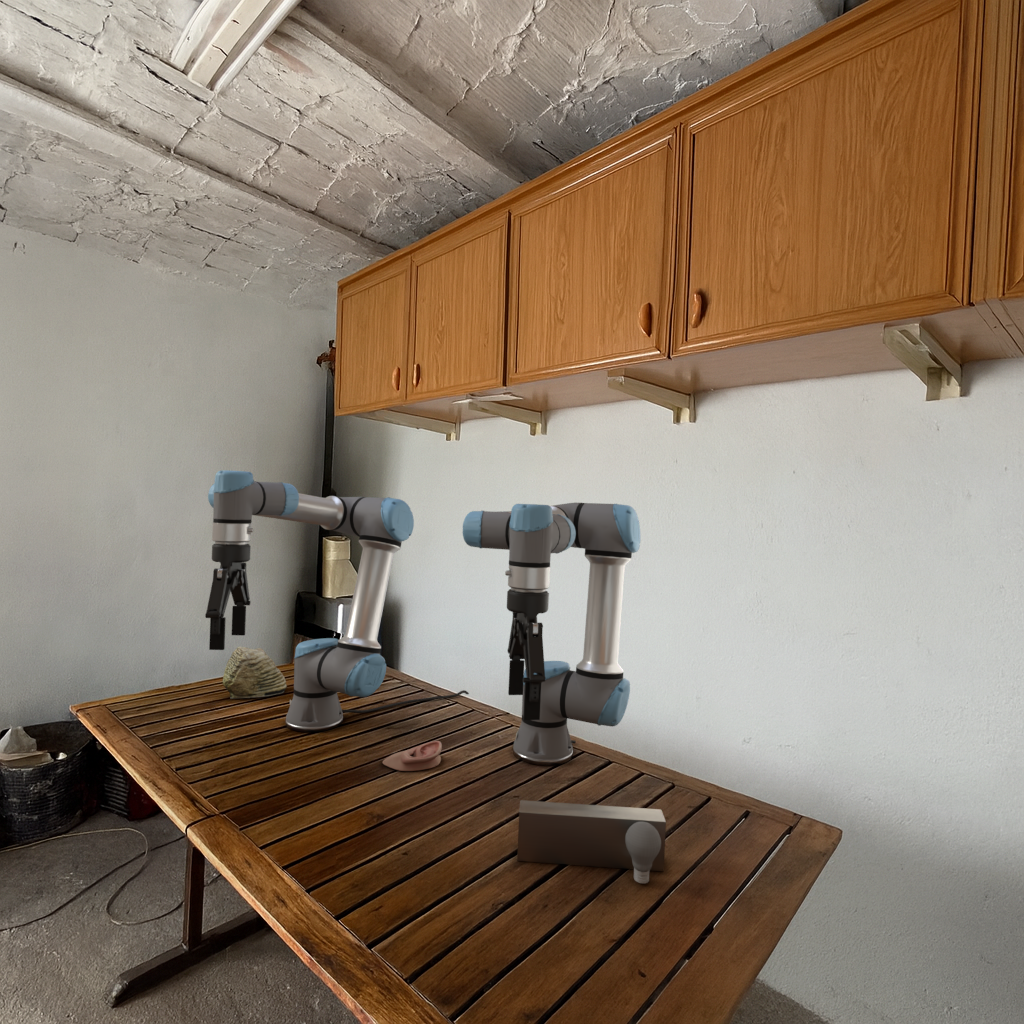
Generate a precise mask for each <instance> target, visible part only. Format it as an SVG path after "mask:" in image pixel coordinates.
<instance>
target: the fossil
mask: <svg viewBox="0 0 1024 1024" xmlns="http://www.w3.org/2000/svg"><path fill="white" fill-rule="evenodd" d="M222 676H223V677H222V685H223V687H224V688H225V690H226V691H228V693H229V698H230V699H250V698H264V697H271V696H275V695H281V694H284V693H285V691H286V689H287V687H288V686H287V680H286V678H285V676H284V674H283V673H282V672H281V669H279V668H278V667H277V665H276V663H275V662H274V660H273V659H272V658H271V657H270V656H269V655H268V654H267V653H266V652H265V650H264V649H263V648H260V647H258V648H251V647H247V646H246V647H245V646H238V647H237V648H236V649H235V650H233V651H232V653H231V656H230V657H229V659H228V660H227V663H226V666H225V668H224V671H223V675H222Z"/></svg>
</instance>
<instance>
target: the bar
mask: <svg viewBox="0 0 1024 1024" xmlns="http://www.w3.org/2000/svg"><path fill="white" fill-rule="evenodd" d="M636 822H647V823H649V824H651V825H652V826H654V827H655V829H656V830H657V831H658V833H659V835H660V838H661V848H660V851H659V853H658V855H657V856H656V857H655V859H654V860H653V862H652V867H651V869H650V872H651V871H653V872H664V870H665V853H666V852H665V851H666V831H667V821H666V818H665V816H664V813H663V811H662V809H659V808H645V807H644V808H643V807H629V806H617V805H616V806H615V805H601V804H599V805H598V804H583V803H571V802H556V801H555V802H554V801H539V800H527V799H526V800H525V799H522V800H521V799H520V800H519V811H518V832H517V854H516V855H517V856H516V861H517V862H526V863H540V864H554V865H555V864H556V865H569V866H581V867H582V866H583V867H594V868H595V867H596V868H609V869H625V870H634V866H633V863H632V857H631V855H630V853H629V851H628V849H627V846H626V842H625V837H626V833H627V831H628V829H629V828H630V826H632V825H633V824H634V823H636Z"/></svg>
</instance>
